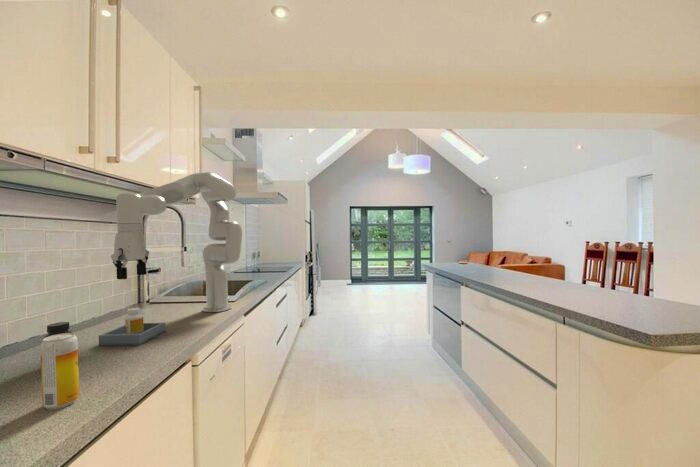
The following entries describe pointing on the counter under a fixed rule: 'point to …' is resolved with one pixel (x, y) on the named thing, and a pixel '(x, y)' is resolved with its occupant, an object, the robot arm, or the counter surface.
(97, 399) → the counter surface
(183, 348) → the counter surface
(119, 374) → the counter surface
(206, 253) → the robot arm
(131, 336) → the tray
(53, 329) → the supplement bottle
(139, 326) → the supplement bottle
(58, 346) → the pill bottle
